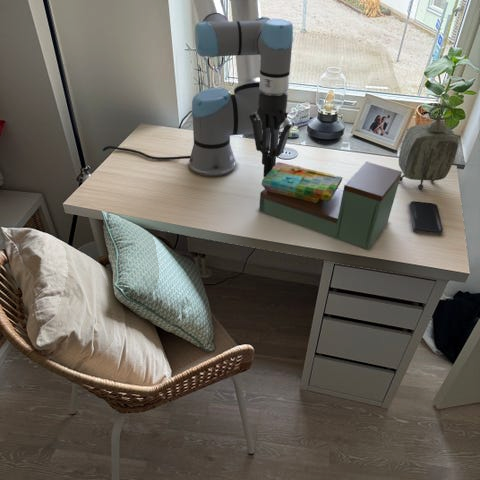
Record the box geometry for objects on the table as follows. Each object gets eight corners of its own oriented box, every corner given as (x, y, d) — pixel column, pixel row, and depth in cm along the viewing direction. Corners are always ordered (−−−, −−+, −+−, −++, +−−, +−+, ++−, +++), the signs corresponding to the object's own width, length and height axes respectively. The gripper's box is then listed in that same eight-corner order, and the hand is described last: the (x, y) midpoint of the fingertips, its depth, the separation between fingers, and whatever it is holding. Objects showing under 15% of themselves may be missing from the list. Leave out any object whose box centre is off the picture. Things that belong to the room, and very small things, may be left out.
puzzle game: (277, 159, 137) (343, 174, 132) (275, 174, 140) (340, 189, 135) (262, 177, 129) (331, 193, 124) (261, 192, 133) (328, 209, 127)
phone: (436, 203, 139) (443, 231, 129) (435, 206, 140) (441, 235, 130) (409, 200, 140) (414, 228, 130) (408, 203, 141) (412, 231, 131)
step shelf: (259, 210, 137) (261, 159, 126) (283, 189, 146) (288, 139, 135) (368, 249, 125) (382, 196, 113) (387, 223, 134) (402, 171, 122)
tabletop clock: (435, 178, 152) (463, 99, 134) (444, 193, 146) (475, 112, 128) (392, 178, 152) (414, 99, 134) (399, 193, 146) (423, 111, 128)
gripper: (244, 90, 120) (242, 174, 137) (288, 101, 115) (280, 187, 132) (259, 81, 125) (255, 164, 141) (302, 92, 120) (293, 176, 136)
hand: (267, 175), depth 137 cm, fingers closed
